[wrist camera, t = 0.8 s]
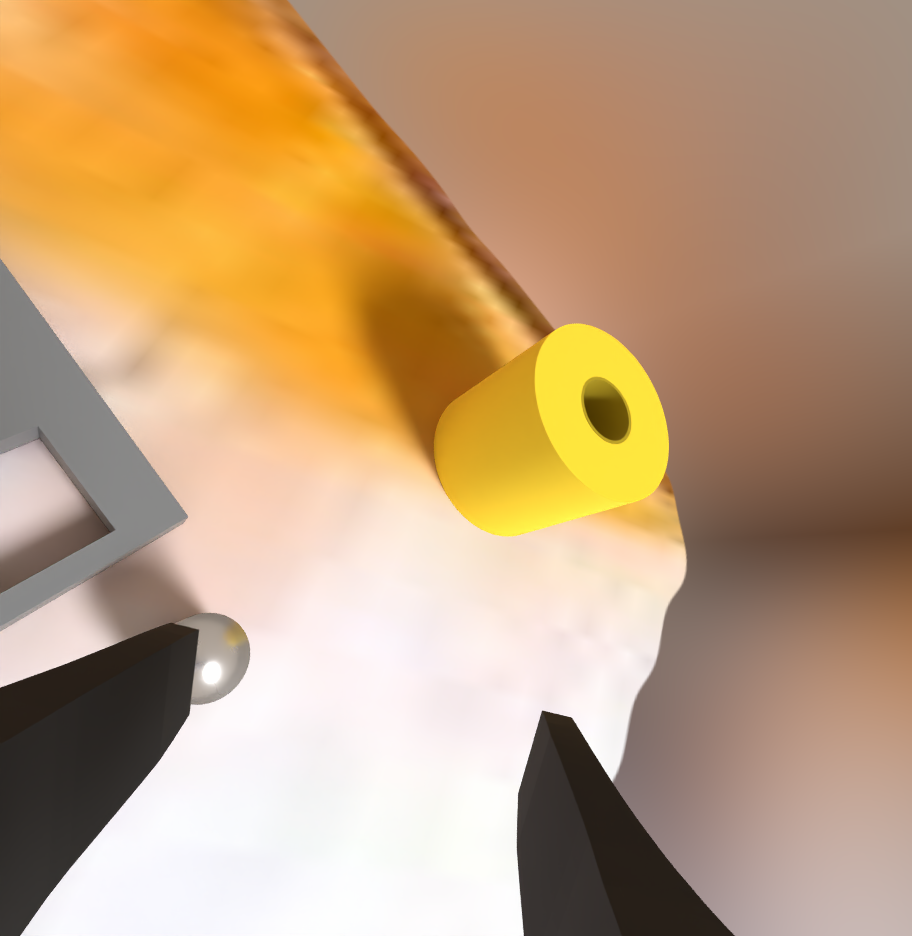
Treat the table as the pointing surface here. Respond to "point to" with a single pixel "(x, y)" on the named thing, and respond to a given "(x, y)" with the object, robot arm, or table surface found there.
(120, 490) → the hole board
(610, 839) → the robot arm
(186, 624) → the loose pin
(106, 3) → the table surface
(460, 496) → the tape roll
